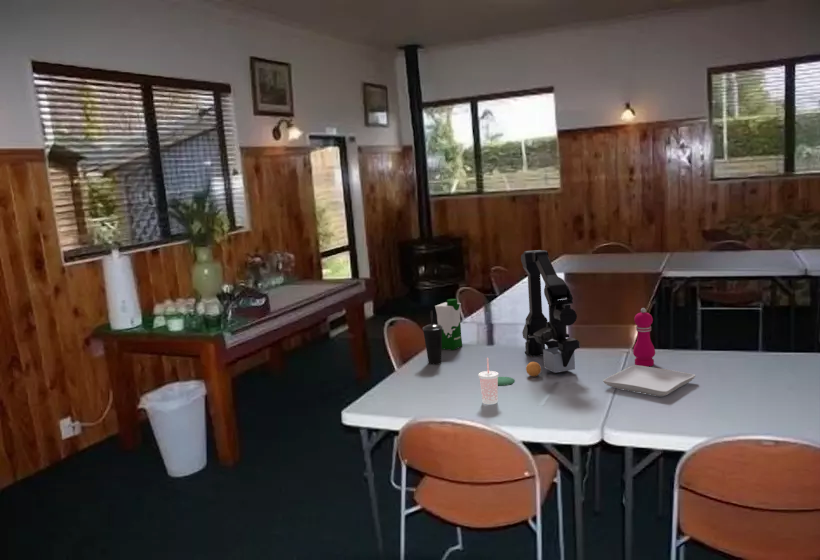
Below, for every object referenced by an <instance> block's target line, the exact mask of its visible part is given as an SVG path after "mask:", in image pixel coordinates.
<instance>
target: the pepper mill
mask: <svg viewBox="0 0 820 560" xmlns="http://www.w3.org/2000/svg"><path fill="white" fill-rule="evenodd" d="M633 319H634V321H633V322H634V324H635V325H636V326H635V331H636V333H637V339H636V342H635V344H634V346H633V348H632V349H633V350H632V354H633V355H634V357H635V359H634V365H639V366H646V367H649V366H650V367H652V366H654V364H655V359H654V357H655V355H656V349H655V346H654V344H653V342H652V339H651V331H652V326H651V325H652V324H653V321H654V318H653V316H652V314H650V313H649V312H647V309H646V308H645V307H641V309H640V311H639V312H638V313H637V314H635V316H634V318H633Z"/></svg>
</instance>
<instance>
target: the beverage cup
mask: <svg viewBox="0 0 820 560" xmlns="http://www.w3.org/2000/svg"><path fill="white" fill-rule="evenodd" d="M489 361H490V360H489V357H486V365H487V368H486V369H487V370H483V371H481V372H479V373H478V375H477V376H478V378H479V382H480V383H479V384H480V391H481V392H480V393H481V401H482V404H484V405H495V404H497V403H498V402H499V401H498V399H499V397H498V393H499V392H498V391H499V390H498V389H499V388H498V387H499V386H498V377H499V372H497V371H493V370H490V366H489V365H490V364H489Z"/></svg>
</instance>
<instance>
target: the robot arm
mask: <svg viewBox="0 0 820 560" xmlns="http://www.w3.org/2000/svg"><path fill="white" fill-rule="evenodd" d="M520 261H521V264H522V268H523V269H524V271H525V272H526V274H527V289H528V290H527V291H528V307H529V308H528V309H529V313H528V314H527V316H526V318H525V324H524V327H523V329H522V332H521V333H522V338H523V339H524V340H525V343H524V344H525V345H524V346H525V351H524V353H525V354H527V355H528V356H530V357H537V356H543V349H546V347H547V349H549V348H555V347H559V348H557V349H558V350H559V351H560V352H561V355H562V361H563V366H564V367H567V365H568V363H569V361H570V359H571V356H572V354H573V353H574V354H575V351H576V350H577V349H579V348H580V346H581V345H580V344H581V342H580V341H579V340H578V339H576V338H574V337H570V334H569V333H568V332H567V331H568V328H567V326H572V325H574V324H575V322H576V320H577V317H578V315H577V312H576V311H575V309H573V308H572V306H571V305H572V304H574V303H573V299H574V298H573V294H572V292H571V290H570V288H569V285H567V283H566V281H565V280H564V279H563V278H561V277H560V276H558V274H557V272H556V270H555V268H554V266H553V264H552V261H551V259H550V258H549V252H548V251H547V250H545V249H544V250H541V249H538V250H536V249H535V250H525V251H524V252H523V253H522V254H521V255H520ZM541 278H542V279H541ZM541 280H543V282H544V287H543V288H544V289H543V292H544V293H543V294H544V297H545V300H546V301H547V305H548V319H547V317H546V316H545V315H544V313H543V302H542V281H541Z"/></svg>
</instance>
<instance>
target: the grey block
mask: <svg viewBox="0 0 820 560" xmlns="http://www.w3.org/2000/svg"><path fill="white" fill-rule="evenodd" d="M557 348H559V347H555V348H549V349H548V348H545V349H543V355H542V356H543V367H544V368H545V369H547V370H548V371H551V372H552V373H554V374H555V373H561V372H566V371H573V370H576V364H575V362H576V361H575V359H576V358H575V352H574V353H573V354H572V356H571V359H570V361H569V363H568V365H567V367H564V366H563V361H562V355H561V352H560V351H559V350H558V349H557Z"/></svg>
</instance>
